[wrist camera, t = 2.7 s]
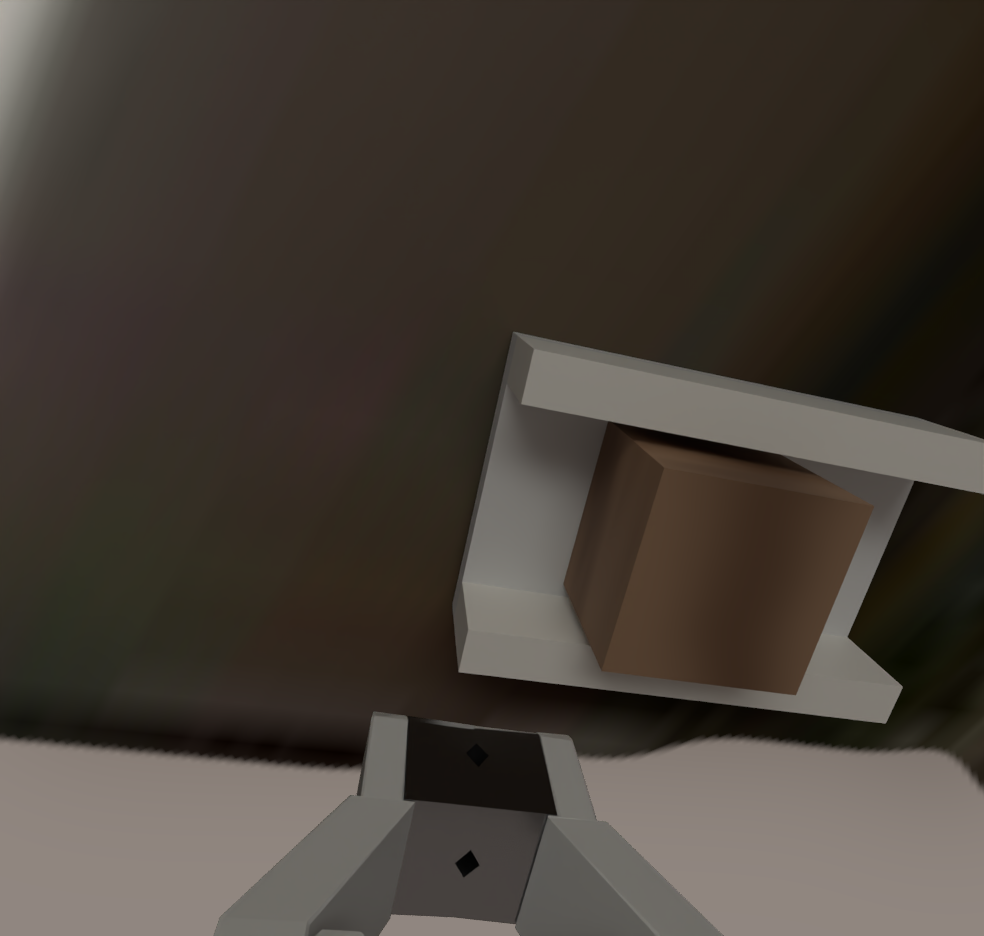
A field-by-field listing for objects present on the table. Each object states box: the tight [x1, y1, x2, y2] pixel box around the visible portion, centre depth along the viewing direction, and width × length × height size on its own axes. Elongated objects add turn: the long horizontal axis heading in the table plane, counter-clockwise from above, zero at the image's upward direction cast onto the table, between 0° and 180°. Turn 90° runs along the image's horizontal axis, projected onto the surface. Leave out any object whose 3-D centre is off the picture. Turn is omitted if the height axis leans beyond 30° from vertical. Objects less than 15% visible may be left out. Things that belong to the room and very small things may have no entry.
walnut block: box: [563, 421, 874, 695], centre depth 20 cm, size 6×6×5 cm
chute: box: [452, 332, 984, 723], centre depth 21 cm, size 15×10×4 cm, turn 78°
